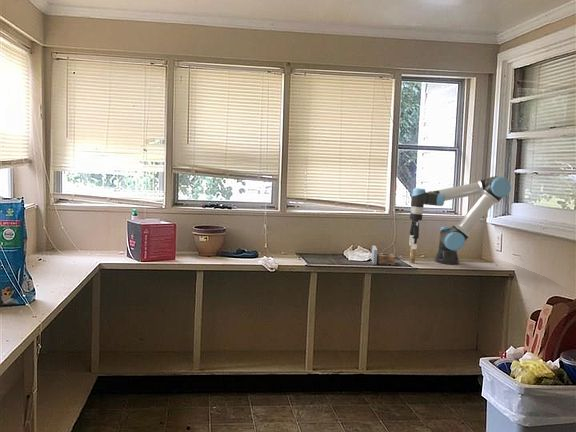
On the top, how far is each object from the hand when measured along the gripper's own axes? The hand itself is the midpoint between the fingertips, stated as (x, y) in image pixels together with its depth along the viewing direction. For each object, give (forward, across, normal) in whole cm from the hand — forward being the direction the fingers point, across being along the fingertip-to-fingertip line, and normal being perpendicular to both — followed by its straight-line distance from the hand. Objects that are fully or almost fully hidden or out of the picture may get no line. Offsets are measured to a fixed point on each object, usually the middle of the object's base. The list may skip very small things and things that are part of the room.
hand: (412, 247), depth 378 cm
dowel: (+10, 0, +1) cm, 10 cm away
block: (+10, +8, -17) cm, 21 cm away
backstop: (+10, +8, -24) cm, 27 cm away
